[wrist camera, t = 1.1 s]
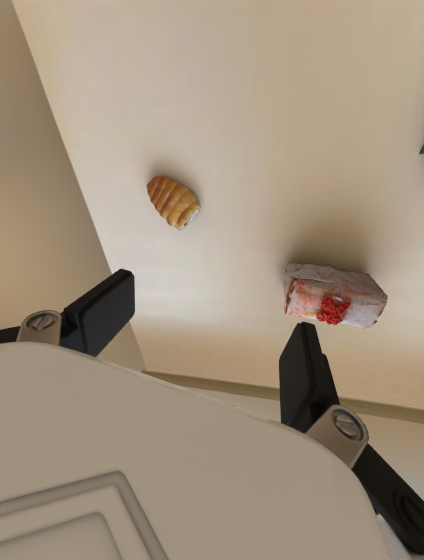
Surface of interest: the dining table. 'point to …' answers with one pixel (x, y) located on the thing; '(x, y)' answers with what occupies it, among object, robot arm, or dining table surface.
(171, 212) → the pastry
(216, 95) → the dining table surface
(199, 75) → the dining table surface
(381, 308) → the food item
